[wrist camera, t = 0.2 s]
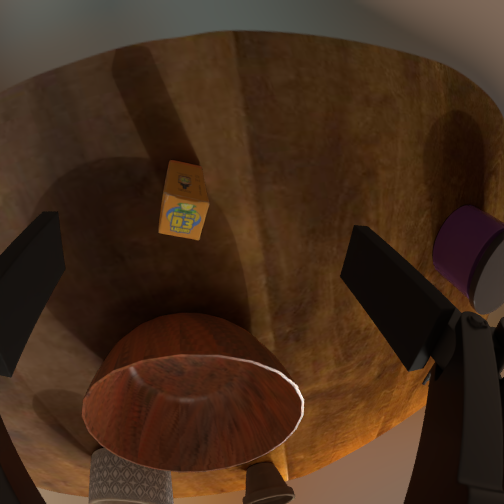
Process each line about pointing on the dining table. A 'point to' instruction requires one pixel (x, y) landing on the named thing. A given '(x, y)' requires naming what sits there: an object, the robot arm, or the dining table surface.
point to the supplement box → (183, 201)
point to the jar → (473, 256)
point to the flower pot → (266, 486)
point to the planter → (126, 481)
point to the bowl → (191, 396)
